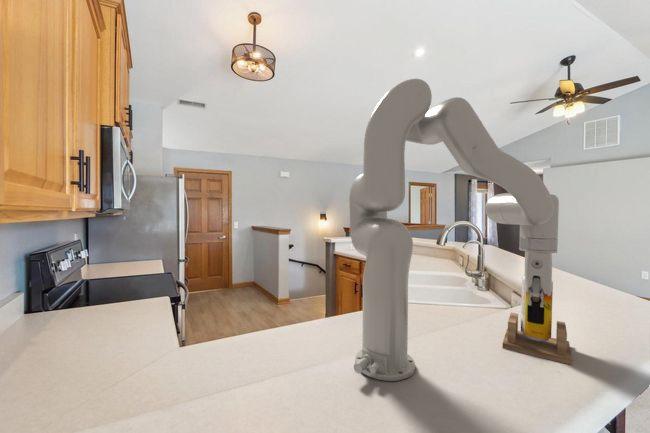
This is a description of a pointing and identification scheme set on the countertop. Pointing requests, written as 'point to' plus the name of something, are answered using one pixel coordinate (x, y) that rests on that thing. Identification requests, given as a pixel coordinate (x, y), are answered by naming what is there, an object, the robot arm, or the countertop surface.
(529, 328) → the beer can
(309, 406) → the countertop surface
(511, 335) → the holder
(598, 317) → the countertop surface
